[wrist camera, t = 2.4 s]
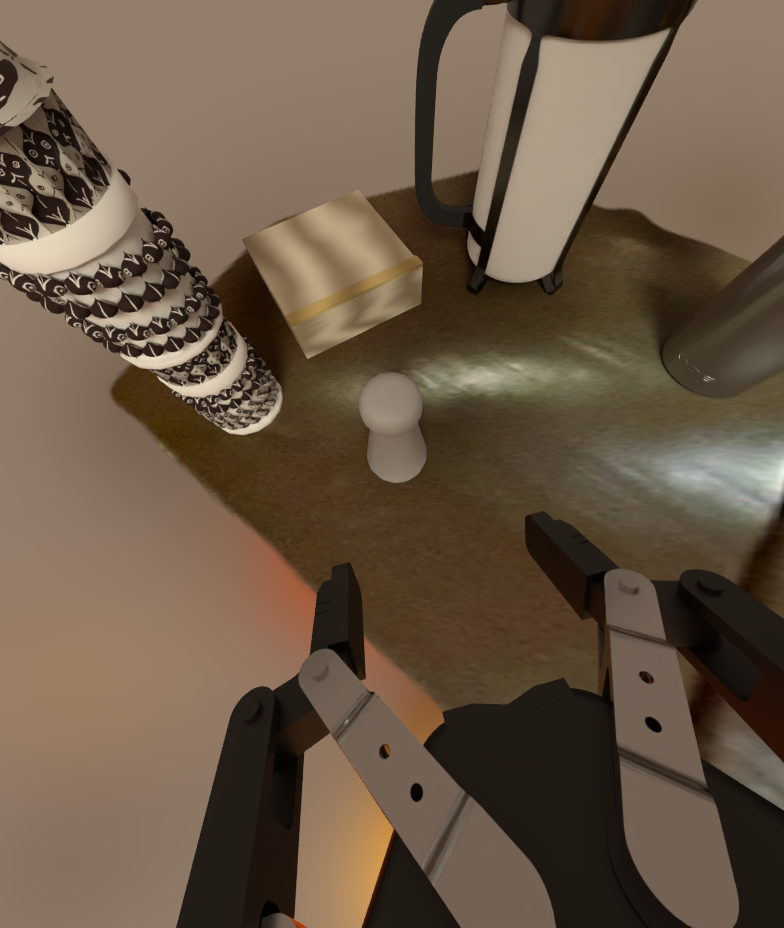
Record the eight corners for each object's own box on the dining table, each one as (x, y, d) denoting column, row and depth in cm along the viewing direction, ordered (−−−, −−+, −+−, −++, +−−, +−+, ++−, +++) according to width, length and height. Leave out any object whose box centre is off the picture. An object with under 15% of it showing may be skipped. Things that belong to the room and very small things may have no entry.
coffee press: (505, 205, 43) (695, -512, 14) (594, 267, 38) (1142, -621, 9) (410, 264, 40) (409, -470, 12) (492, 337, 35) (826, -591, 7)
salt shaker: (358, 462, 31) (325, 396, 19) (395, 426, 32) (386, 341, 20) (399, 500, 30) (391, 454, 17) (437, 459, 31) (454, 390, 18)
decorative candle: (193, 406, 35) (-272, 69, 11) (253, 355, 37) (-35, -27, 13) (240, 454, 32) (-220, 153, 9) (302, 397, 34) (60, 23, 11)
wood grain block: (363, 231, 43) (357, 185, 37) (421, 303, 38) (422, 262, 32) (261, 276, 41) (240, 235, 36) (307, 358, 36) (290, 324, 31)
